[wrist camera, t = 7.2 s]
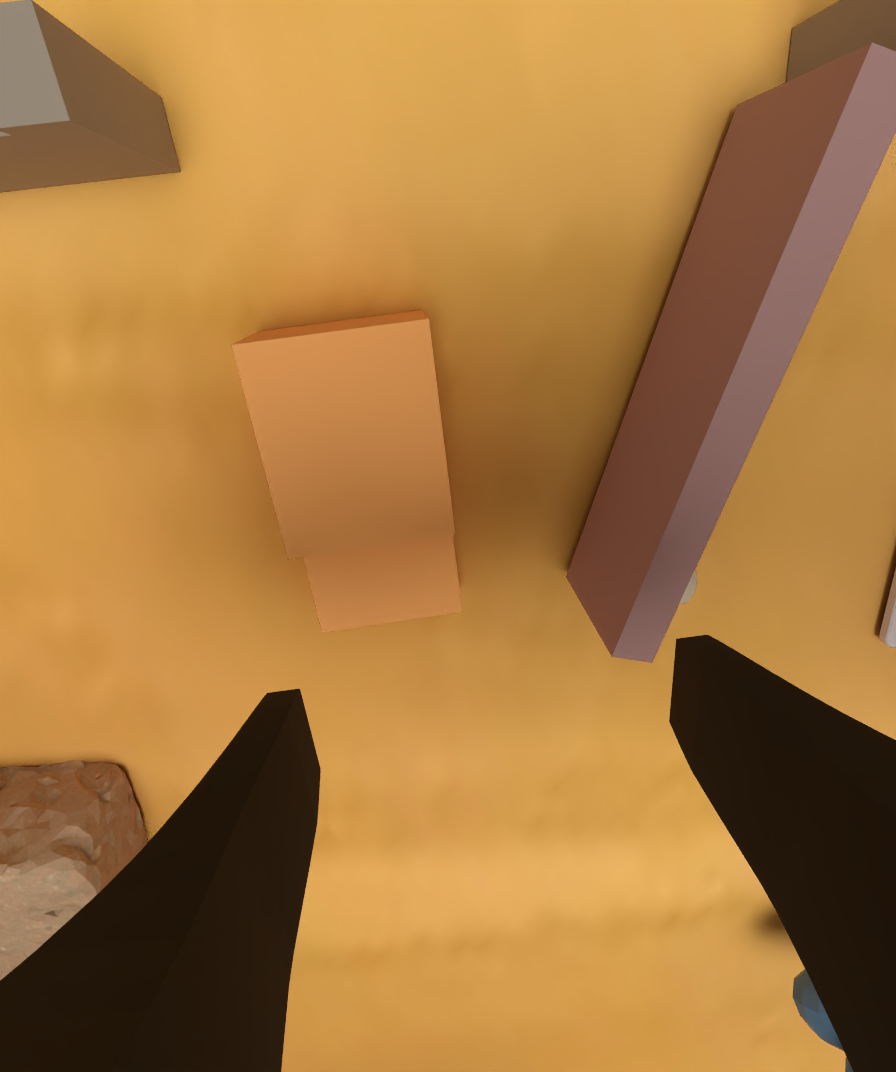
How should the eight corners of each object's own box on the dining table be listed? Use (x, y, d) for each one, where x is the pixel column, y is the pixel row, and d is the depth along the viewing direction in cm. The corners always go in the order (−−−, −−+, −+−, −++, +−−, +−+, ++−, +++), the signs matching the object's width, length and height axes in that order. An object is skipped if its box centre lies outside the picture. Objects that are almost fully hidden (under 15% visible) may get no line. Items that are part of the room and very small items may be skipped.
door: (737, 105, 15) (871, 42, 10) (812, 132, 15) (971, 80, 11) (565, 576, 20) (611, 656, 16) (625, 587, 20) (684, 667, 16)
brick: (-107, 764, 21) (-231, 890, 17) (133, 750, 22) (71, 867, 18) (28, 1017, 28) (-35, 1150, 24) (207, 1000, 29) (175, 1127, 25)
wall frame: (987, 7, 14) (1303, -130, 9) (970, 81, 15) (1258, -10, 10) (-88, 124, 13) (-367, 39, 8) (-57, 198, 14) (-300, 160, 9)
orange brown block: (421, 309, 16) (429, 318, 13) (456, 584, 20) (468, 642, 17) (262, 330, 16) (231, 344, 13) (328, 603, 20) (316, 665, 17)
